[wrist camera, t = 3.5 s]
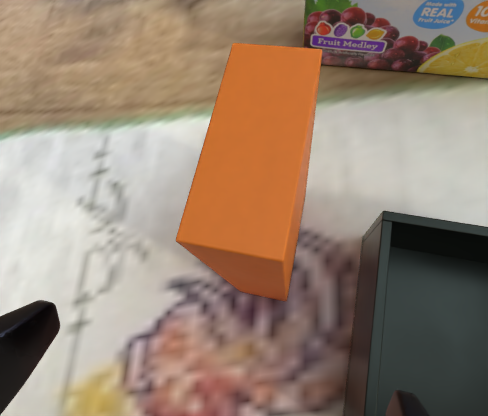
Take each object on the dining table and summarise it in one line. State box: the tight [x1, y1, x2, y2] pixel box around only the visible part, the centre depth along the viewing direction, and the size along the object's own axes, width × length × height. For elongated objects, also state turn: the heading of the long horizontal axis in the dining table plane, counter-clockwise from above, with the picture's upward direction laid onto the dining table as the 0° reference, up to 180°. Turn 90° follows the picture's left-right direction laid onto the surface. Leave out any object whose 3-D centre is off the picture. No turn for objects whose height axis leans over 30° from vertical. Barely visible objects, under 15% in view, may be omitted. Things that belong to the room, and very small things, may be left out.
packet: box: [176, 43, 322, 301], centre depth 16 cm, size 7×3×13 cm, turn 168°
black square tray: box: [343, 211, 488, 416], centre depth 16 cm, size 11×11×5 cm
